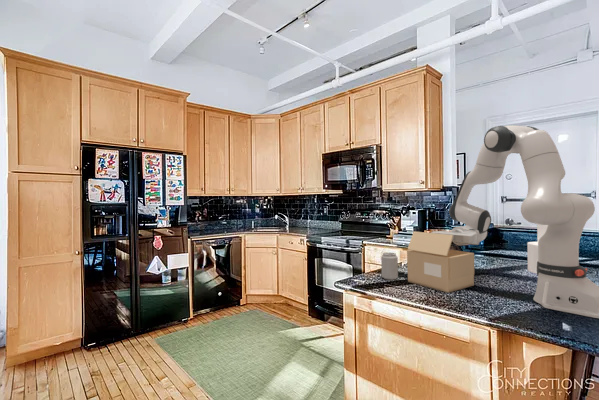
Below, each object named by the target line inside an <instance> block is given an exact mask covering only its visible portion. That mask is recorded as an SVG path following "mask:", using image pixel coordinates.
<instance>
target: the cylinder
mask: <svg viewBox="0 0 599 400" xmlns="http://www.w3.org/2000/svg"><path fill="white" fill-rule="evenodd" d="M536 227H537V228H536V229H537V230H536V231H537V232H536V235H537V241H528V242H526V245H527V271H528V272H530V273H534V274H536V275H537V262H538V241H539V239H540V238H541V237H542V236H543V235H544V234H545V232H546V230H547V227H548V225H540V224H536Z"/></svg>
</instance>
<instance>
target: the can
mask: <svg viewBox="0 0 599 400" xmlns="http://www.w3.org/2000/svg"><path fill="white" fill-rule="evenodd" d="M380 257H381V258H380V259H381V260H380V261H381V277H382V278H383V279H384V280H388V281H395V280H396V279H398V278H399V266H398V265H399V261H398V260H399V259H398V256H397V254H396V253H395V252H383V253H382V255H381V256H380Z"/></svg>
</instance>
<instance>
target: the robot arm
mask: <svg viewBox="0 0 599 400" xmlns="http://www.w3.org/2000/svg"><path fill="white" fill-rule="evenodd" d="M510 154H519V156H520V159H521V163H522V166H523V170H524V172H525V176H526V179H527V187H528V188H527V193H526V197H525V199H523V201H522V203H521V205H520V213H521V215H522V217H523V219H524V220H525V221H526V222H528V223H530V224H536V225H537V224H540V225H548V227H547V230H546V232H545V234H544V235H543V236H542V237H541V238H540V239H539V241H538V262H537V274H536V276H537V283H536V288H535V289H536V290H535V293H534V296H533V298H532V299H533V301H534V302H536V303H538V304H540V305H541V306H542V307H543V308H545V309H549V310H554V311H559V312H563V313H568V314H573V315H580V316H584V317H588V318H594V319H599V285H597V284H596V282H593V281H592V280H590V279H589V278H588V277H587V272H588V268H587V267H586V268H584V267H583V266H581V265H580V259H579V256H580V254H579V252H580V250H579V249H580V248H579V247H580V240H581V237H582V235H583V234H582V233H583V231H584V228H585V226H586V224H587V223H588V221H589V219H590V218H592V217H593V216H594V213H595V210H596V209H595V208H596V207H595V204H594V202H593V200H592V199H591V198H589V197H588V196H585V195H583V194H579V193H573V192H567V193H566V192H565V193H563V192H562V190H561V184H562V180H563V179H564V178H565V176H566V169H565V166H564V164H563V162H562V157H561V155H560V153H559V150H558V148H557V146H556V144H555V141H554V140H553V138H552V137H551V135H550V134H549V133H548V132H547V131H546V130H542V129H539V128H536V127H534V126H531V125H528V126H525V125H515V124H514V125H512V124H511V125H498V126H494V127H491V128H489V129H488V130H487V131H486V133H485V134H484V139H483V143H482V145H481V148H480V151H479V153H478V156H477V158H476V162H475V165H474V167H473V169H472V170H471V171H468V172H466V174H465V176H464V177H463V180H462V182H461V185H460V186H459V188H458V191H457V193H456V196H455V199H454V200H453V203H452V204H451V205H450V207H449V208H448V213H449V216H450V219H452V221H455V222H459V223H462V224H464V225H462V226H455V227H453V228H452V229H451V230H450V231H444V230H439V231H430V233H436V234H446V235H453V239H452V242H451V243H453V244H455V245H456V246H459V247H461V246H468V245H469V246H470V245H471V246H472V245H473V246H476V245H477V246H478V245H480V243H481V242H482V241H484V240H485V239H486V238H487V236H488V231H489V228H490V226H491V223H492V217H491V214H490V212H489V211H488V210H486V209H484V208H481V207H479V206H475V205H471V204H470V203H468V199H469V197H470V195H471V192H472V190H473V188H474V187H475V186H476V185H488V184H492V183H494V182H496V181H498V180H500V178H502V175H503V173H504V169H505V166H506V162H507V159H508V156H509V155H510Z"/></svg>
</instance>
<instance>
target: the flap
mask: <svg viewBox="0 0 599 400" xmlns="http://www.w3.org/2000/svg"><path fill="white" fill-rule="evenodd" d="M452 239H453V235H446V234H436V233H431V232H425V231H424V232H422V231H413V233H412V236H411V238H410V242H409V243H408V247H407V251H409V250H413V251H419V252H425V253H431V254H437V255H444V256H447V255H448V252H449V249H450V248H451V245H452V243H453V242H452Z"/></svg>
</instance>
